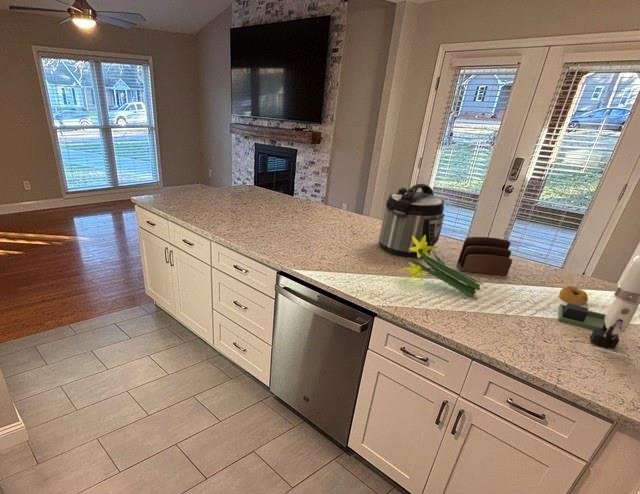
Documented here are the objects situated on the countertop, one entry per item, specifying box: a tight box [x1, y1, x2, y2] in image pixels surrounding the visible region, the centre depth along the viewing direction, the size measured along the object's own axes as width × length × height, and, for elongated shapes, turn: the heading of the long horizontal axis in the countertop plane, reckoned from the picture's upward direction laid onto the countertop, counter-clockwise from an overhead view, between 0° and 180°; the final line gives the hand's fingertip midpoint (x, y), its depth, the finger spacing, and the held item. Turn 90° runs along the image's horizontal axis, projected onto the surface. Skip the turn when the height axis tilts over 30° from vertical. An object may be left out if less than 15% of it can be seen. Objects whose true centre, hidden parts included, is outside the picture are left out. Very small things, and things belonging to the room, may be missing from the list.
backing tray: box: [557, 303, 620, 335], centre depth 152 cm, size 18×14×2 cm
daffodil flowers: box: [402, 235, 484, 299], centre depth 172 cm, size 17×15×35 cm
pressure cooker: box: [378, 183, 445, 258], centre depth 203 cm, size 30×28×32 cm
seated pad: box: [563, 302, 589, 322], centre depth 153 cm, size 6×5×4 cm
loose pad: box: [589, 328, 620, 350], centre depth 138 cm, size 6×5×4 cm
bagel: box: [558, 285, 589, 306], centre depth 167 cm, size 10×11×5 cm
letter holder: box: [456, 236, 514, 276], centre depth 189 cm, size 10×20×14 cm, turn 80°
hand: (601, 343), depth 139 cm, fingers closed on loose pad, 5 cm apart
